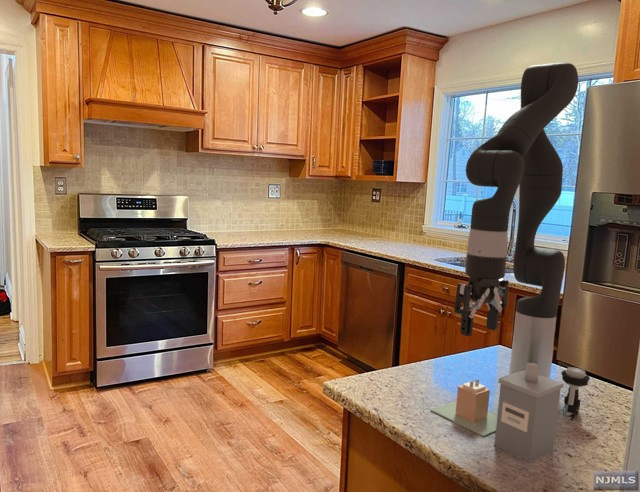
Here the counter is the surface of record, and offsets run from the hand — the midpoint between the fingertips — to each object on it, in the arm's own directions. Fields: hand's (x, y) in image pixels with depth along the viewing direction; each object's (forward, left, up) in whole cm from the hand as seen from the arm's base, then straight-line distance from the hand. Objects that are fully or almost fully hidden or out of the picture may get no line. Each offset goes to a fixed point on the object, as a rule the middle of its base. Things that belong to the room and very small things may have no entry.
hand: (479, 332), depth 105 cm
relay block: (0, 0, -18) cm, 18 cm away
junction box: (+2, +13, -18) cm, 22 cm away
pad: (0, 0, -18) cm, 18 cm away
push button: (-19, +11, -18) cm, 28 cm away
